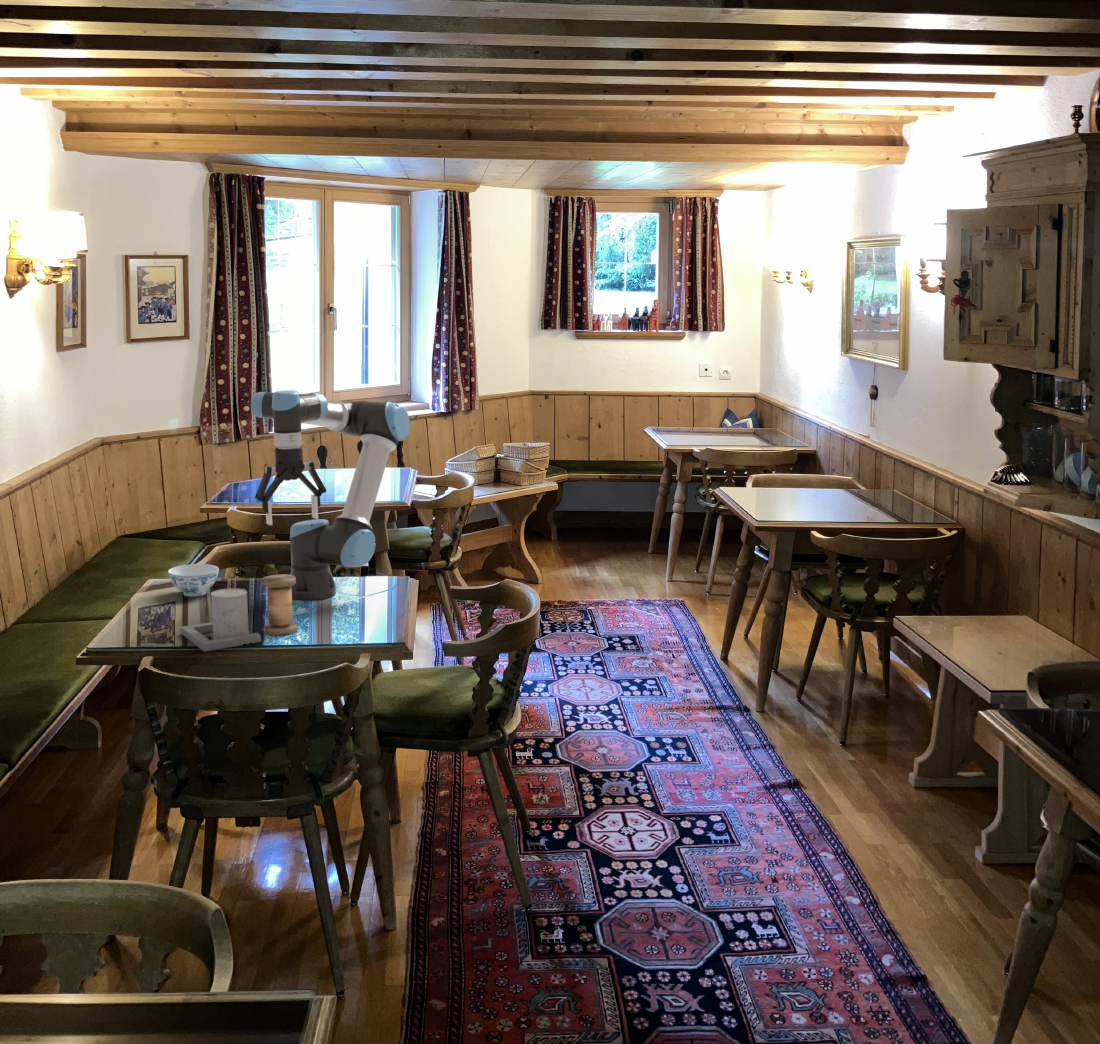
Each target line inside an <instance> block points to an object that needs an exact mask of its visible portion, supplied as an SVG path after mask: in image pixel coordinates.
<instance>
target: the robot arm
mask: <svg viewBox="0 0 1100 1044" xmlns="http://www.w3.org/2000/svg"><path fill="white" fill-rule="evenodd" d="M250 402H251V403H250V410H251V412H252V414H253V415H254V416H255V417H256V418H261V419H264V420H265V419H270V420H273V422H272V423H273V442H274V443H273V445H274V446H275V448H274V459H275V461H274V462H275V463H274V466H270V465H264V469H263V471H264V472H263V475H262V478H261V480H260V483H259V486H258V488H257V490H256V493H255V495H254V499H255V500H257V501H259V502H260V503H261V506H262V508H261V509H262V513H263V514H265V520H266V523H265V524H266V525H269V526H273V514H272V513H273V511H272V502H271V501H270V499H271V498H272V496H273V495H274V494H275V492H276V491H277V490H278V488H279V486H280V485H282V483H283V481H286V482H287V481H291V480H294V481H296V480H297V479H299V480H300V481H301V482H302V483H303V485H305V486H306V487H307V489H309V490H310V492H312V493H313V494H311V496H310V500H311V501H310V502H311V504H310V505H311V518H312V519H308V520H302V521H298V522H296V523H293V524H292V525H291V526H290V532H289V534H290V536H289V544H290V562H291V564H290V565H291V566H290V569H291V570H290V574H289V575H293V576H295V577H296V584H294V585H292V600H293V599H294V600H300V601H301V600H303V601H304V600H305V601H309V600H310V601H311V600H322V599H328V598H330V597H333V596H336V594H337V586H336V583H335V580H334V577H333V574H332V572H331V571H332V570H331V569H330V565H335V566H341V567H345V568H360V567H364V565H366V564H367V563H369V562H370V560H371V559H372V557H373V555H374V553H375V549H376V545H377V544H376V543H375V542H376V536H375V534H374V533H373V527H372V525H371V523H370V520H371V517H372V514H373V510H374V506H375V504H376V500H377V497H378V493H379V490H380V487H381V483H382V480H383V476H384V473H385V469H386V466H387V462H388V459H389V458H390V453H391V452H393V451H395V450H396V449H397V447H398V443H399V442H403V441H404V440H406V439H407V438H408V436H409V433H410V427H411V423H410V418H409V414H408V411H407V409H406V408H405V407H404V405H402V404H400V403H398V402H391V401H369V400H368V401H367V400H352V401H351V400H350V401H349V400H347V401H341V400H340V401H339V400H332V401H330V402H328V399H327V398H326V397H325V395H323V394H321V393H319V392H314V393H313V392H310V393H306V394H305V393H299V391H297V390H292V389H291V390H288V389H287V390H277V391H274V392H271V391H270V392H268V391H259V392H256V393H255V394H254V395H253V396H252V398H251V400H250ZM302 424H306V425H311V426H313V425H314V426H319V427H326V429H328V430H329V431H331V432H332V431H333V432H336V433H341V434H345V435H348V436H353V437H356V438H360V441H361V442H362V447H361V451H360V453H359V457H358V461H357V464H356V466H355V467H356V468H355V471H354V474H353V477H352V480H351V483H350V487H349V489H348V490H349V491H348V494H347V497H346V501H345V503H344V506H343V510H342V513H341V514H340V515H338V516H336V517H335V520H334V523H333V525H330V523H329V520H328V519H324V518H323V519H322V518H320V519H319V507H321V503H322V502H321V497H322V495H323V494H325V493H327V489H326V487H325V485H324V483H323V482H322V480H321V478H320V476H319V474H318V472H317V470H316V467H315V466H316V465H315V462H313V461H310V460H308V461H306V462H304V455H303V447H302V445H303V442H302V441H303V440H302V439H303V436H302ZM305 469H306V470H307V471H308V472H309V475H310V477H311V478H312V479H313V482H314V483H315V485H316V486H315V485H314V484H313V483H312V482H311V481H310V480H309V479H308V478H307V477H306V475H305V474H304V473H303V471H304V470H305ZM274 472H276V475H275V476H274V478H273V481H272V482H271V483H270V480H271V477H272V475H273V474H274ZM269 483H270V485H269V486H268V484H269Z"/></svg>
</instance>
